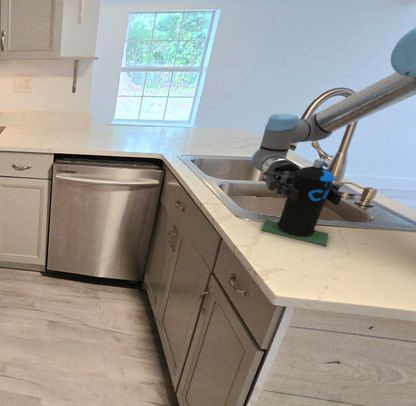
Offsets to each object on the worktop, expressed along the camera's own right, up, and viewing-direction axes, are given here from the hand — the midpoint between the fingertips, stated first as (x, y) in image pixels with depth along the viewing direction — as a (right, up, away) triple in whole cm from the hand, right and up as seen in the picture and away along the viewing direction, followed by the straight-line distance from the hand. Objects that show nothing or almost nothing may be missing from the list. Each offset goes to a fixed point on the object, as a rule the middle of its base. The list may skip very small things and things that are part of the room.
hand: (317, 198), depth 94 cm
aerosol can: (+2, -8, +9) cm, 12 cm away
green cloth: (+2, -10, +9) cm, 13 cm away
